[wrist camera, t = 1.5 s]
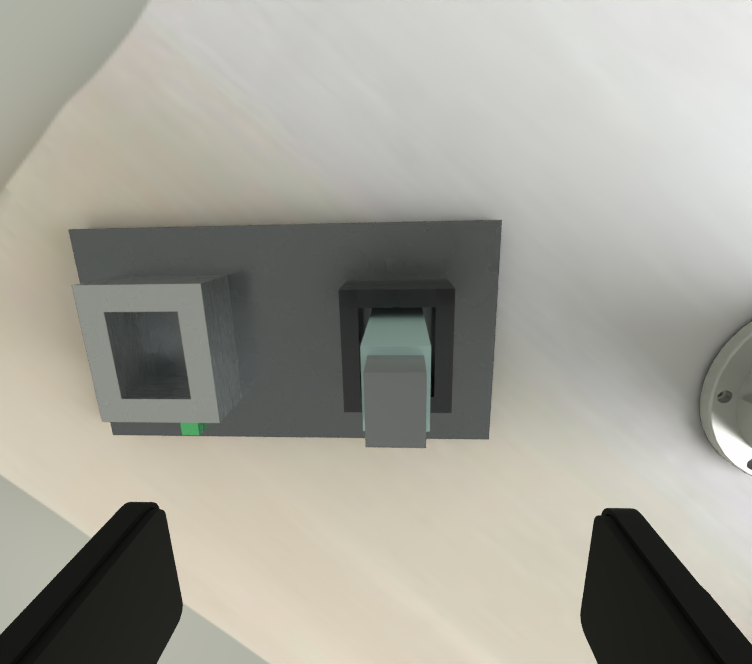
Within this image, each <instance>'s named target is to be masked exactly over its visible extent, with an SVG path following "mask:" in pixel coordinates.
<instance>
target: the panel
mask: <svg viewBox="0 0 752 664" xmlns="http://www.w3.org/2000/svg"><path fill="white" fill-rule="evenodd" d="M501 225H502V220H479V221H433V222H387V223H340V224H294V225H248V226H201V227H155V228H109V229H70V230H69V234H70V239H71V243H72V248H73V252H74V257H75V262H76V266H77V271H78V276H79V280H80V284H76V285H72V289H73V293H74V298H75V302H76V307H77V311H78V316H79V320H80V325H81V329H82V334H83V338H84V343H85V347H86V352H87V356H88V361H89V365H90V370H91V374H92V379H93V383H94V387H95V392H96V396H97V401H98V405H99V410H100V414H101V419H102V422H110V423H111V428H112V432H113V435H161V436H247V437H334V438H365V431H363V416H362V386H361V356H360V346H361V342H362V339H363V336H364V333H365V330H366V327H367V324H368V320H369V317H370V314H371V311H372V308H421V307H422V310H423V314H424V318H425V323H426V327H427V331H428V335H429V339H430V344H431V389H430V432H426V439H489V427H490V411H491V394H492V377H493V360H494V343H495V326H496V309H497V293H498V276H499V259H500V242H501Z"/></svg>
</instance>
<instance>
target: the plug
mask: <svg viewBox="0 0 752 664" xmlns="http://www.w3.org/2000/svg"><path fill="white" fill-rule="evenodd" d="M360 356H361V386H362V416H363V431H365V442H366V447H392V448H426V432H430V389H431V344H430V339H429V335H428V331H427V327H426V323H425V318H424V314H423V310H422V307H421V308H372V311H371V314H370V317H369V320H368V324H367V327H366V330H365V333H364V336H363V339H362V342H361V346H360Z"/></svg>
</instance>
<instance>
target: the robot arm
mask: <svg viewBox="0 0 752 664" xmlns="http://www.w3.org/2000/svg"><path fill="white" fill-rule="evenodd" d="M700 416H701V421H702V426H703V429H704V431H705V434H706V436H707V438H708V440H709V442H710V443H711V444H712V446H713V447H714V448H715V449H716V451H717V452H718V453H719V454H720V455H721V456H723V457H724V458H725V459H726V460H728V461H729V462H730V463H731V464H733V465H734V466H735V467H737V468H738V469H740V470H741V471H743V472H744V473H746V474H748V475H751V476H752V321H751V322H750V323H748V324H747V325H746V326H744V327H743V328H742V329H740V330H739V331H738V332H737V333H736V334H735V335H734V336H733V337H732V338H731V339H730V340H729V341H728V342H727V343H726V344H725V345H724V347H723V348H722V350H721V351H720V352H719V354H718V355H717V357H716V358H715V359H714V361H713V363H712V365H711V367H710V369H709V371H708V373H707V375H706V377H705V380H704V384H703V388H702V391H701V396H700ZM182 606H183V603H182V597H181V592H180V586H179V581H178V576H177V571H176V566H175V560H174V555H173V550H172V545H171V539H170V534H169V529H168V524H167V518H166V514H165V512H164V510H161V509H159V506H158V505H157V504H156V503H154V502H128V503H126V504H124V505H123V506H122V507H121V508H120V509H119V510H118V511H117V512H116V513H115V514H114V515H113V516H112V518H111V519H110V520H109V521H108V522H107V523H106V524H105V525H104V526H103V527H102V528H101V529H100V530H99V531H98V532H97V533H96V534H95V535H94V537H93V538H92V539H91V540H90V541H89V542H88V543H87V544H86V545H85V546H84V547H83V548H82V549H81V550H80V551H79V552H78V553H77V555H76V556H75V557H74V558H73V559H72V560H71V561H70V562H69V563H68V564H67V565H66V566H65V567H64V568H63V569H62V570H61V571H60V572H59V573H58V574H57V576H56V577H55V578H54V579H53V580H52V581H51V582H50V583H49V584H48V585H47V586H46V587H45V588H44V589H43V590H42V592H40V594H39V595H38V596H37V597H36V598H35V599H34V600H33V601H32V602H31V603H30V604H29V605H28V606H27V607H26V608H25V609H24V610H23V612H21V613H20V615H19V616H18V617H17V618H16V619H15V620H14V621H13V622H12V623H11V624H10V625H9V626H8V627H7V628H6V629H5V631H3V633H2V634H1V635H0V664H157V662H158V660H159V658H160V656H161V654H162V652H163V650H164V649H165V647H166V645H167V643H168V641H169V639H170V638H171V636H172V634H173V632H174V630H175V628H176V626H177V624H178V622H179V620H180V617H181V614H182ZM580 616H581V624H582V628H583V631H584V634H585V636H586V639H587V641H588V643H589V645H590V647H591V650H592V652H593V654H594V656H595V658H596V661H597V663H598V664H752V644H751V643H750V642H749V641H748V640H747V638H746V637H745V636H744V635H743V634H742V632H741V631H740V630H739V629H738V628H737V627H736V625H735V624H734V623H733V622H732V621H731V619H730V618H729V617H728V616H727V615H726V613H725V612H724V611H723V610H722V609H721V607H720V606H719V605H718V604H717V603H716V601H715V600H714V599H713V598H712V597H711V595H710V594H709V593H708V592H707V591H706V590H705V589H704V588H703V587H702V586H701V585H700V584H699V583H698V582H697V581H696V579H695V578H694V577H693V576H692V575H691V573H690V572H689V571H688V570H687V569H686V567H685V566H684V565H683V564H682V563H681V561H680V560H679V559H678V558H677V557H676V555H675V554H674V553H673V552H672V551H671V549H670V548H669V547H668V546H667V545H666V543H665V542H664V541H663V540H662V539H661V537H660V536H659V535H658V534H657V533H656V531H655V530H654V529H653V528H652V527H651V525H650V524H649V523H648V522H647V520H646V519H645V518H644V517H643V516H642V514H641V513H640V512H639V511H637V510H636V509H631V508H606V509H604V510H603V512H602V515H601V516H596V517H595V519H594V524H593V531H592V538H591V544H590V551H589V558H588V565H587V572H586V578H585V585H584V592H583V599H582V606H581V614H580Z"/></svg>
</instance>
